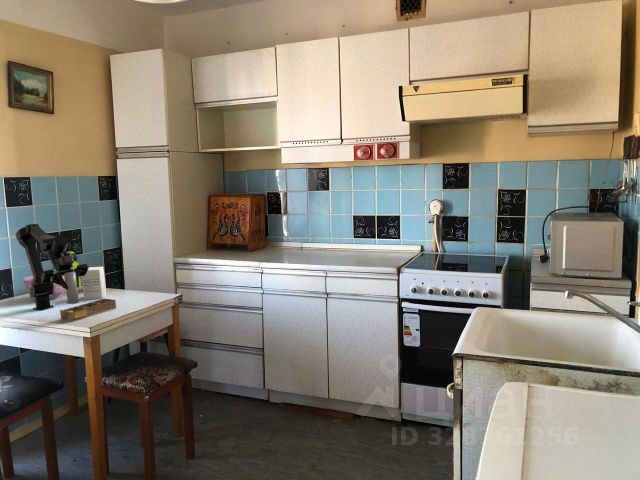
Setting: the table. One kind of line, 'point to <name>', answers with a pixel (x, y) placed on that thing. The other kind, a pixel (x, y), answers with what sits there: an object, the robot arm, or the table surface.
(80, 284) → the soap dispenser
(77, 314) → the rack
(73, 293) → the plug
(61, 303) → the table surface
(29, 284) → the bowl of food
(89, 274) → the supplement box
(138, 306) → the table surface
